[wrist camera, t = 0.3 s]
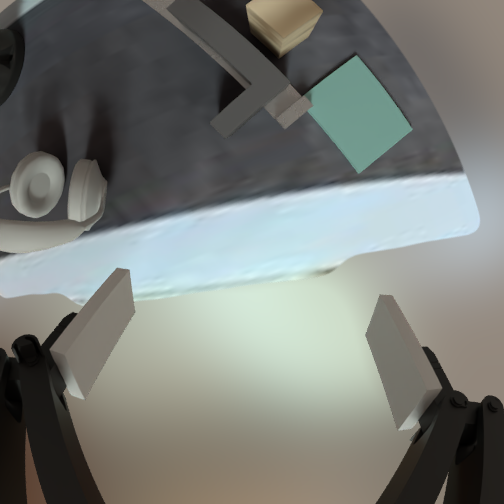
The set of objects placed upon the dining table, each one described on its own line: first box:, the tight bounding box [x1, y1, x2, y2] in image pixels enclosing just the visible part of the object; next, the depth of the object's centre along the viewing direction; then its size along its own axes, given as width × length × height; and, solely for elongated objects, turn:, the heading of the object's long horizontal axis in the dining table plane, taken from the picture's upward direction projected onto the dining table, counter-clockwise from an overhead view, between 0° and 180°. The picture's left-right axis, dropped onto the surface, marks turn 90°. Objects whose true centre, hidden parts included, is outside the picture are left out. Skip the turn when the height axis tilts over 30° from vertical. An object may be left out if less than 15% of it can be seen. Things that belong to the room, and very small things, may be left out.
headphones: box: [0, 151, 107, 253], centre depth 29 cm, size 19×9×20 cm, turn 75°
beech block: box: [246, 0, 323, 59], centre depth 24 cm, size 5×5×10 cm
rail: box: [142, 0, 313, 129], centre depth 27 cm, size 35×4×2 cm, turn 43°
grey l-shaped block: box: [166, 0, 291, 139], centre depth 28 cm, size 16×9×6 cm, turn 43°
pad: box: [303, 55, 413, 173], centre depth 32 cm, size 12×10×1 cm
